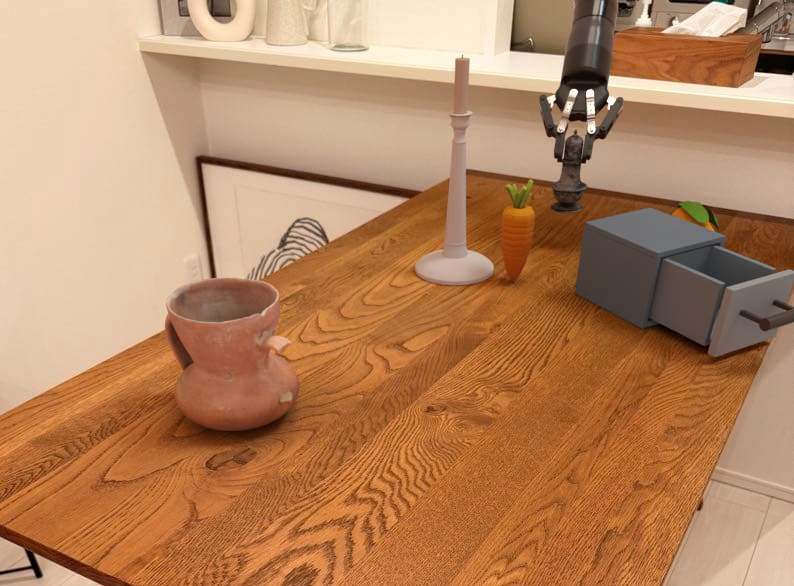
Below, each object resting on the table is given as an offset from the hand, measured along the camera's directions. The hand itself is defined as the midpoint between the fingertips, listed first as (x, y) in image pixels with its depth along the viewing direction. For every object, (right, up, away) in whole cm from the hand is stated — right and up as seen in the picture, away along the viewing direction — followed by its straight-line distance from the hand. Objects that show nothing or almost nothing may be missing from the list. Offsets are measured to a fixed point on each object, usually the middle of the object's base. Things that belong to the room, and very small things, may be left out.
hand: (571, 159), depth 122 cm
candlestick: (-19, -17, +3) cm, 25 cm away
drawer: (+16, -33, -19) cm, 41 cm away
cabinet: (+8, -25, -8) cm, 28 cm away
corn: (+21, -14, +6) cm, 26 cm away
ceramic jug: (-47, -45, -30) cm, 72 cm away
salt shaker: (+1, -5, +7) cm, 8 cm away
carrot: (-10, -20, -1) cm, 22 cm away
